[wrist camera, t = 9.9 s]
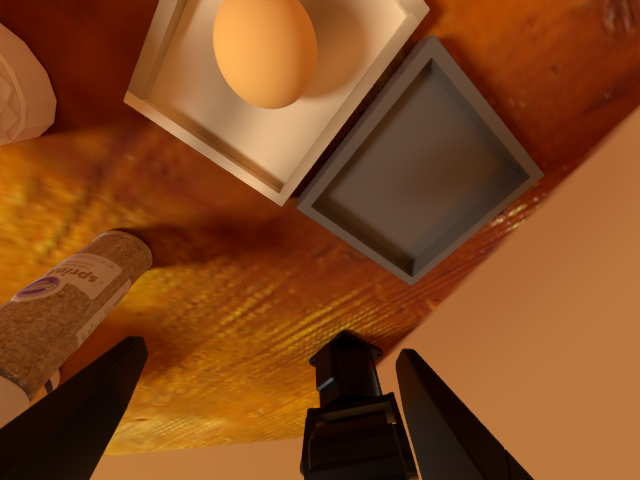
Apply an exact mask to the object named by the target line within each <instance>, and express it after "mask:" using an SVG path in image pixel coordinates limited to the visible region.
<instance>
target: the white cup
mask: <svg viewBox="0 0 640 480" xmlns="http://www.w3.org/2000/svg"><path fill="white" fill-rule="evenodd" d="M56 103H57V100H56V97H55V94H54V91H53V88H52V85H51V82H50V79H49V77H48V74H47V72H46V70H45V69H44V68H43V66H42V65H41V64H40V62H39V61H38V60H37V58H36V57H35V56H34V54H33V53H32V52H31V50H30V49H29V47H28V46H27V45H26V43H25V42H24V41H23V40H21V39H20V38H19V37H18V36H16V35H15V34H14V33H12V32H11V31H10V30H9V29H7V28H6V27H5V26H4V25H2V24H1V23H0V145H4V144H8V143H12V142H17V141H22V140H26V139H31V138H36V137H39V136H40V135H42V134H43V133H44V132H45V131H46V130H47V129H48V128H49V127H50V126H51V125H52V124H53V123H54V119H55V111H56Z"/></svg>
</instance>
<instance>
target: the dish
mask: <svg viewBox="0 0 640 480" xmlns="http://www.w3.org/2000/svg"><path fill="white" fill-rule="evenodd" d="M544 176H545V175H544V174H543V172H542V171H541V170H540V169H539V167H538V166H537V165H536V164H535V162H534V161H533V160H532V158H531V157H530V156H529V155H528V153H527V152H526V151H525V150H524V148H523V147H522V146H521V144H520V143H519V142H518V141H517V139H516V138H515V137H514V136H513V134H512V133H511V132H510V130H509V129H508V128H507V127H506V125H505V124H504V123H503V122H502V120H501V119H500V118H499V116H498V115H497V114H496V113H495V111H494V110H493V109H492V107H491V106H490V105H489V104H488V102H487V101H486V100H485V99H484V97H483V96H482V95H481V93H480V92H479V91H478V90H477V88H476V87H475V86H474V85H473V83H472V82H471V81H470V79H469V78H468V77H467V76H466V74H465V73H464V72H463V71H462V69H461V68H460V67H459V65H458V64H457V63H456V62H455V60H454V59H453V58H452V57H451V55H450V54H449V53H448V51H447V50H446V49H445V48H444V46H443V45H442V44H441V43H440V41H439V40H438V39H437V37H436V36H435V35H434V34H433V35H430V36H428V37H426V38H424V39H422V40H419V41H417V43H416V44H415V45H414V47H413V48H412V49H411V50H410V52H409V53H408V54H407V56H406V57H405V58H404V60H403V61H402V62H401V63H400V65H399V66H398V67H397V69H396V70H395V71H394V73H393V74H392V75H391V76H390V78H389V79H388V80H387V82H386V83H385V84H384V86H383V87H382V88H381V89H380V91H379V92H378V93H377V95H376V96H375V97H374V99H373V100H372V101H371V102H370V104H369V105H368V106H367V108H366V109H365V110H364V112H363V113H362V114H361V115H360V117H359V118H358V119H357V121H356V122H355V123H354V125H353V126H352V127H351V128H350V130H349V131H348V132H347V134H346V135H345V136H344V138H343V139H342V140H341V141H340V143H339V144H338V145H337V147H336V148H335V149H334V151H333V152H332V153H331V154H330V156H329V157H328V158H327V160H326V161H325V162H324V164H323V165H322V166H321V167H320V169H319V170H318V171H317V173H316V174H315V175H314V176H313V178H312V179H311V180H310V182H309V183H308V184H307V186H306V187H305V188H304V189H303V191H302V192H301V193H300V195H299V196H298V197H297V209H298V210H300V211H301V212H303V213H304V214H306V215H307V216H308V217H310V218H311V219H313V220H314V221H316V222H317V223H319V224H320V225H322V226H323V227H325V228H326V229H328V230H329V231H331V232H332V233H334V234H335V235H337V236H338V237H340V238H341V239H342V240H344V241H345V242H347V243H348V244H350V245H351V246H353V247H354V248H356V249H357V250H359V251H360V252H362V253H363V254H365V255H366V256H368V257H369V258H371V259H372V260H373V261H375V262H376V263H378V264H379V265H381V266H382V267H384V268H385V269H387V270H388V271H390V272H391V273H393V274H394V275H396V276H397V277H399V278H400V279H402V280H403V281H404V282H406V283H407V284H409V285H410V286H412V285H414V284H415V283H416V282H417V281H418V280H420V279H421V278H422V277H423V276H424V275H426V274H427V273H428V272H429V271H430V270H432V269H433V268H434V267H435V266H436V265H438V264H439V263H440V262H441V261H442V260H444V259H445V258H446V257H447V256H448V255H450V254H451V253H452V252H453V251H454V250H456V249H457V248H458V247H459V246H461V245H462V244H463V243H464V242H465V241H467V240H468V239H469V238H470V237H471V236H473V235H474V234H475V233H476V232H477V231H479V230H480V229H481V228H482V227H483V226H485V225H486V224H487V223H488V222H489V221H491V220H492V219H493V218H494V217H495V216H497V215H498V214H499V213H500V212H501V211H503V210H504V209H505V208H506V207H508V206H509V205H510V204H511V203H512V202H514V201H515V200H516V199H517V198H518V197H520V196H521V195H522V194H523V193H524V192H526V191H527V190H528V189H529V188H530V187H532V186H533V185H534V184H535V183H536V182H538V181H539V180H540V179H541V178H542V177H544Z"/></svg>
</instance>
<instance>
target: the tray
mask: <svg viewBox="0 0 640 480" xmlns="http://www.w3.org/2000/svg"><path fill="white" fill-rule="evenodd" d="M298 1H299V2H300V3H301V5H302V6H303V8H304V9H305V11H306V12H307V14H308V16H309V18H310V20H311V22H312V25H313V28H314V31H315V35H316V41H317V52H318V54H317V65H316V70H315V74H314V77H313V79H312V82H311V84H310V86H309V88H308V89H307V91H306V92H305V93H304V94H303V96H302V97H301V98H300V99H298V100H297V101H296V102H294V103H293V104H291V105H289V106H286V107H284V108H279V109H264V108H260V107H257V106H254V105H252V104H250V103H248V102H246V101H245V100H244V99H242V98H241V97H240V96H239V95H237V94H236V93H235V92H234V91H233V89H232V88H231V87H230V86H229V84H228V83H227V82H226V80H225V78H224V76H223V75H222V73H221V70H220V68H219V66H218V63H217V60H216V56H215V52H214V45H213V29H214V22H215V18H216V15H217V12H218V9H219V7H220V5H221V3H222V2H223V0H159V3H158V6H157V8H156V11H155V14H154V17H153V20H152V22H151V25H150V28H149V31H148V33H147V36H146V39H145V42H144V45H143V47H142V50H141V53H140V56H139V59H138V61H137V64H136V67H135V70H134V72H133V75H132V78H131V81H130V84H129V86H128V89H127V92H126V95H125V98H124V100H123V102H125V103H126V104H128V105H129V106H131V107H132V108H134V109H135V110H137V111H138V112H140V113H141V114H143V115H144V116H146V117H147V118H149V119H150V120H152V121H153V122H155V123H156V124H158V125H159V126H161V127H162V128H164V129H165V130H167V131H168V132H170V133H171V134H173V135H174V136H176V137H177V138H179V139H180V140H182V141H183V142H185V143H186V144H188V145H189V146H191V147H192V148H194V149H195V150H197V151H199V152H200V153H202V154H203V155H205V156H206V157H208V158H209V159H211V160H212V161H214V162H215V163H217V164H218V165H220V166H221V167H223V168H224V169H226V170H227V171H229V172H230V173H232V174H233V175H235V176H236V177H238V178H239V179H241V180H242V181H244V182H245V183H247V184H248V185H250V186H251V187H253V188H254V189H256V190H257V191H259V192H260V193H262V194H263V195H265V196H266V197H268V198H269V199H271V200H272V201H274V202H275V203H277V204H278V205H280V206H281V207H282V206H283V204H284V203H285V202H286V200H287V199H288V198H289V196H290V195H291V194H292V192H293V191H294V190H295V188H296V187H297V186H298V184H299V183H300V182H301V180H302V179H303V178H304V176H305V175H306V174H307V173H308V171H309V170H310V169H311V167H312V166H313V165H314V163H315V162H316V161H317V159H318V158H319V157H320V155H321V154H322V153H323V151H324V150H325V149H326V147H327V146H328V145H329V143H330V142H331V141H332V139H333V138H334V137H335V135H336V134H337V133H338V131H339V130H340V129H341V127H342V126H343V125H344V123H345V122H346V121H347V119H348V118H349V117H350V115H351V114H352V113H353V111H354V110H355V109H356V107H357V106H358V105H359V103H360V102H361V101H362V99H363V98H364V97H365V95H366V94H367V93H368V91H369V90H370V89H371V87H372V86H373V85H374V83H375V82H376V81H377V80H378V78H379V77H380V76H381V74H382V73H383V72H384V70H385V69H386V68H387V66H388V65H389V64H390V62H391V61H392V60H393V58H394V57H395V56H396V54H397V53H398V52H399V50H400V49H401V48H402V46H403V45H404V44H405V42H406V41H407V40H408V38H409V37H410V36H411V34H412V33H413V32H414V30H415V29H416V28H417V26H418V25H419V24H420V22H421V21H422V20H423V18H424V17H425V16H426V14H427V13H428V12H429V10H430V8H429V7H428V6H427V4H426V3H425V2H424V0H298Z"/></svg>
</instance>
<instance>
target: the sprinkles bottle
mask: <svg viewBox="0 0 640 480" xmlns="http://www.w3.org/2000/svg"><path fill="white" fill-rule="evenodd" d="M152 261H153V258H152V253H151V250H150V249H149V248H148V246H147V245H146V244H145V243H144V242H143V241H142V240H140V239H139V238H138V237H136V236H134V235H132V234H129V233H127V232H122V231H117V230H114V231H111V230H109V231H106V232H103V233H101V234H99V235H98V236H97V237H96V238H95V239H94V240H93V241H92V242H91V243H90V244H88V245H87V246H85V247H84V248H83V249H81V250H80V251H78V252H77V253H76V254H74V255H72V256H70V257H68V258H66V259H65V260H63V261H62V262H61V263H59V264H58V265H56V266H55V267H54V268H52V269H51V270H49V271H48V272H47V273H45V274H44V275H42V276H41V277H39V278H38V279H37V280H35V281H34V282H32V283H31V284H30V285H28V286H27V287H25V288H24V289H23V290H21V291H20V292H18V293H17V294H16V295H15V296H14V297H13V298H12V299H11V300H9V301H8V302H7V303H5V304H3V305H2V306H1V307H0V428H2V427H3V426H4V425H6V424H7V423H9V422H10V421H11V420H13V419H14V418H15V417H17V416H18V415H20V414H21V413H22V412H24V411H25V410H27V409H28V407H29V403H30V402H32V401H33V400H34V398H35V396H36V394H37V391H38V390H39V389H41V387H42V386H43V385H44V384H45V383H46V382H47V381H48V380H49V378H50V377H51V376H52V375H53V374H54V373H55V372H56V370H57V369H58V368H59V367H60V366H61V365H62V364H63V363H64V362H65V361H66V360H67V358H68V357H69V356H70V355H71V354H72V353H73V352H75V351H76V350H77V349H78V348H79V347H80V346H81V344H82V343H83V342H84V341H85V340H86V339H87V338H88V337H89V335H90V334H91V333H92V332H93V331H94V330H95V329H96V328H97V326H98V325H99V324H100V323H101V322H102V321H103V320H104V319H105V318H106V316H107V315H108V314H109V313H110V312H111V311H112V310H113V308H114V307H115V306H116V305H117V304H118V303H119V302H120V300H121V299H122V298H123V297H124V296H125V295H126V294H127V292H128V291H129V289H130V287H131V286H132V285H133V284H134V283H135V282H136V280H138V278H139V277H140V276H141V275H142V274H143V273H145V272H146V271H148V269H149V268H150V267H151V265H152Z"/></svg>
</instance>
